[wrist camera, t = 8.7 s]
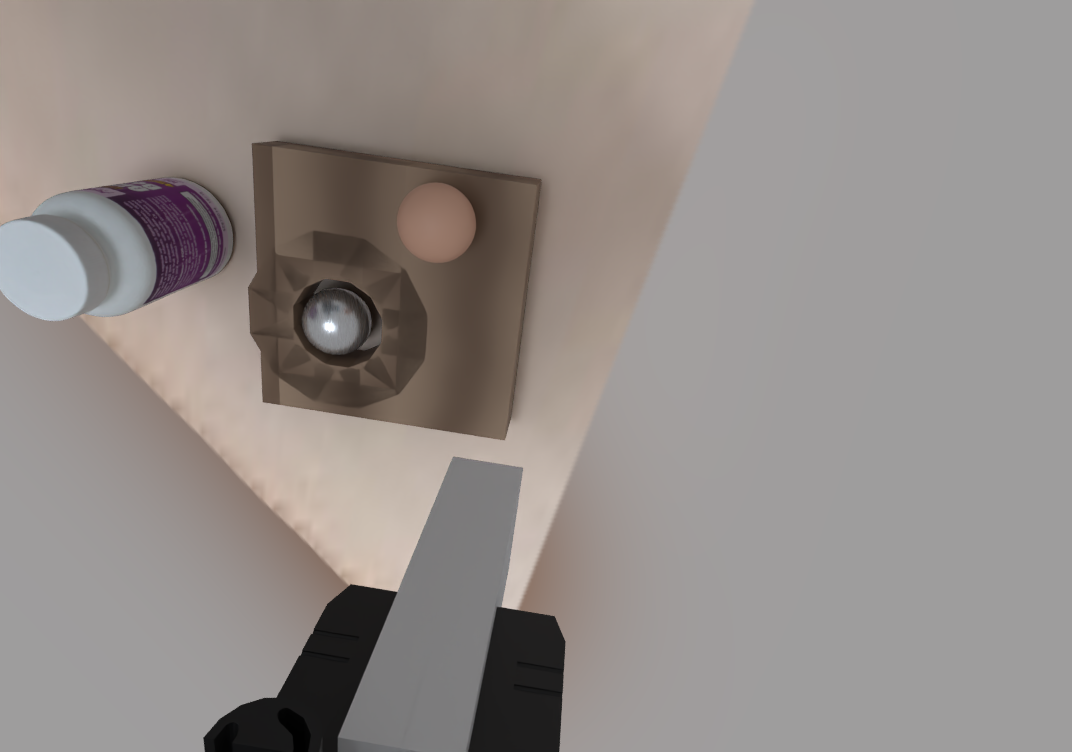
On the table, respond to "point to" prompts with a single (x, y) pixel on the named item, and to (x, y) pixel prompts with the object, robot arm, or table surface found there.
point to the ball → (336, 321)
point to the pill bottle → (113, 248)
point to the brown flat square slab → (390, 289)
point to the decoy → (436, 222)
